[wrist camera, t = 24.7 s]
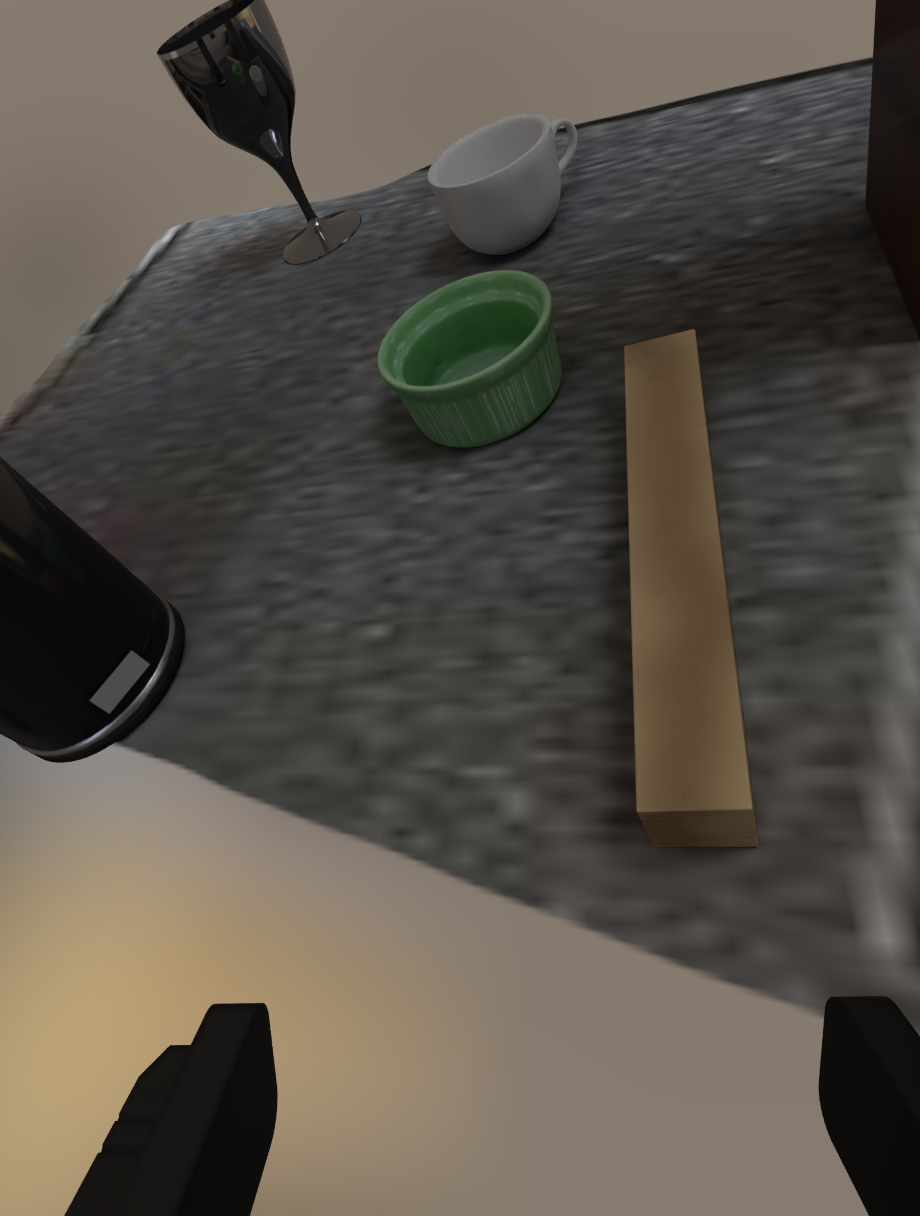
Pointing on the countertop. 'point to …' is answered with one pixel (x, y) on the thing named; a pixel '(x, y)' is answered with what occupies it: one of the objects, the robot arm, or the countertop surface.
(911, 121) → the walnut stand
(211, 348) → the countertop surface
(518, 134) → the teacup
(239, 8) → the wine glass
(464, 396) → the ramekin
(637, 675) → the beech bar
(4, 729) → the robot arm
